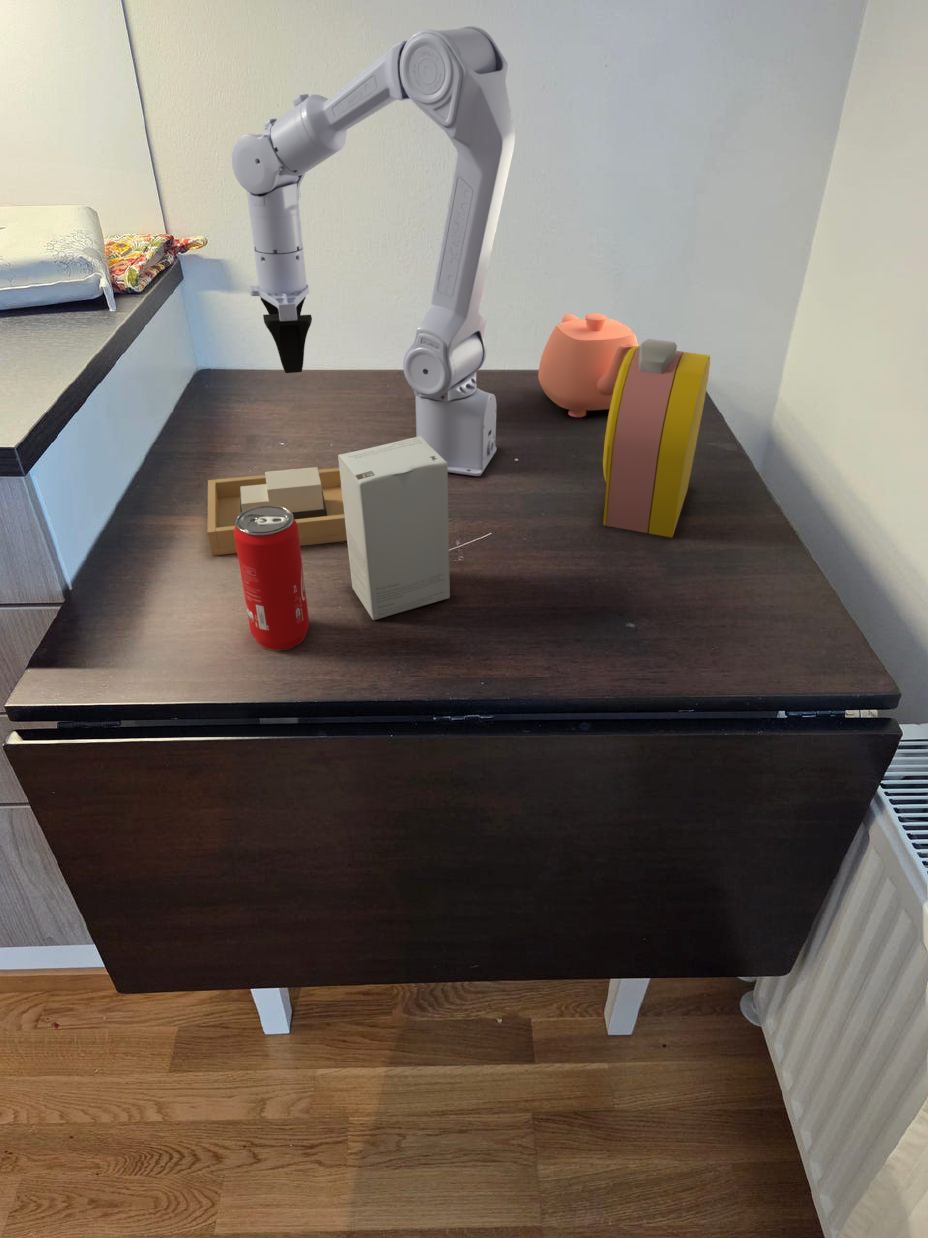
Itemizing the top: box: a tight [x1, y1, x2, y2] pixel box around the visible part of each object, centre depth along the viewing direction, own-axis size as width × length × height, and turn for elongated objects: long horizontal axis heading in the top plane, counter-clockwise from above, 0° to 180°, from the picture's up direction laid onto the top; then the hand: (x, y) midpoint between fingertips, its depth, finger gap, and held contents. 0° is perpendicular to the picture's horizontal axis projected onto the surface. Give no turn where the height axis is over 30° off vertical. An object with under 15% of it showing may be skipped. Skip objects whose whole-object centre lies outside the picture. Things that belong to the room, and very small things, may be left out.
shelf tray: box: [207, 467, 347, 557], centre depth 94 cm, size 16×12×3 cm
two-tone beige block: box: [240, 466, 327, 520], centre depth 93 cm, size 9×5×4 cm, turn 103°
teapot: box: [537, 312, 639, 418], centre depth 118 cm, size 13×20×12 cm, turn 18°
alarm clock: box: [602, 338, 711, 538], centre depth 93 cm, size 15×8×18 cm, turn 160°
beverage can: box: [234, 506, 310, 652], centre depth 75 cm, size 5×5×12 cm
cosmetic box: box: [337, 436, 451, 621], centre depth 79 cm, size 8×6×15 cm
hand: (291, 360), depth 111 cm, fingers open, 7 cm apart
